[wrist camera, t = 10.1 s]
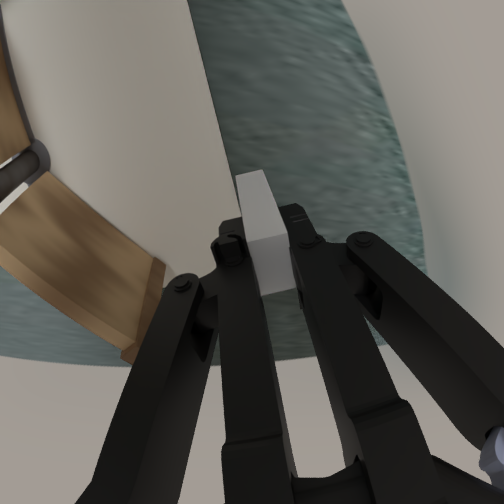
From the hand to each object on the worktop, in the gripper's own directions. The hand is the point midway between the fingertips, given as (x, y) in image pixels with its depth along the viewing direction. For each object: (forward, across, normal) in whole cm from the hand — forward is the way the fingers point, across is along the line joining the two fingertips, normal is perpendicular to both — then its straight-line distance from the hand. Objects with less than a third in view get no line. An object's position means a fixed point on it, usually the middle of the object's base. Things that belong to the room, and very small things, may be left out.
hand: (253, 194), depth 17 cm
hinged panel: (+1, -10, 0) cm, 10 cm away
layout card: (+2, -10, +6) cm, 11 cm away
